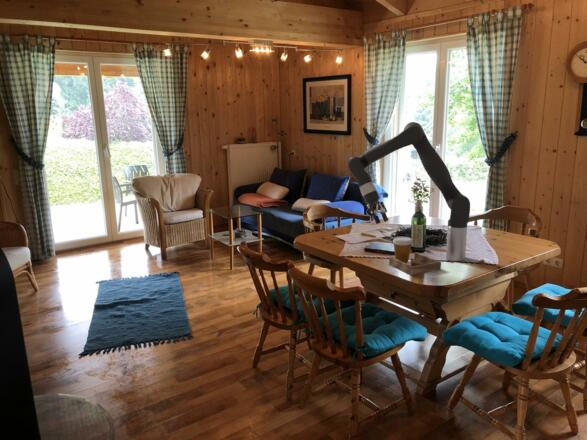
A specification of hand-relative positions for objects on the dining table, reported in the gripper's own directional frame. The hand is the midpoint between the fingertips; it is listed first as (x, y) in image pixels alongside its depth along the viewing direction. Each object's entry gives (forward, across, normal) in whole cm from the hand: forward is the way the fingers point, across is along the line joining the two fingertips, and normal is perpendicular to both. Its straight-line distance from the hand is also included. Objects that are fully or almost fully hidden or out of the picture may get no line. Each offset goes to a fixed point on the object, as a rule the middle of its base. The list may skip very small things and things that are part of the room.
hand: (382, 222), depth 232 cm
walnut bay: (+26, +1, -5) cm, 27 cm away
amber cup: (+22, +6, +2) cm, 23 cm away
